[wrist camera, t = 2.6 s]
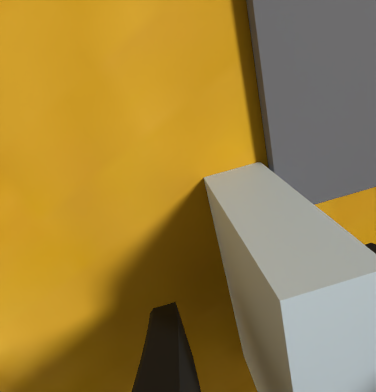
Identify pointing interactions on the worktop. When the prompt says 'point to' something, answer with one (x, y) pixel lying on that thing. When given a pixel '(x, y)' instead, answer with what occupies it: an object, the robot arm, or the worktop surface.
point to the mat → (317, 92)
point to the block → (294, 286)
